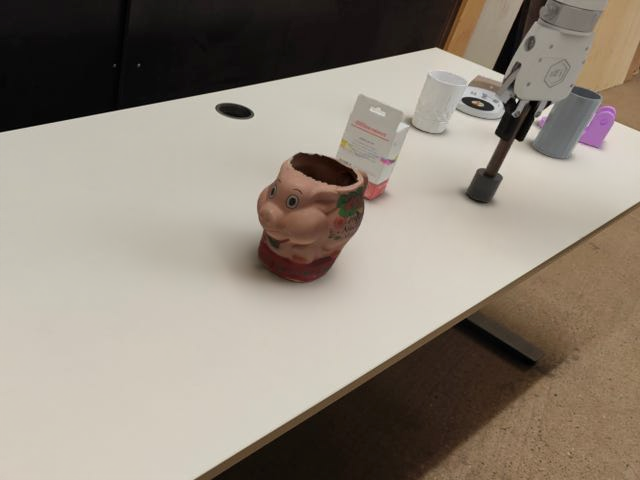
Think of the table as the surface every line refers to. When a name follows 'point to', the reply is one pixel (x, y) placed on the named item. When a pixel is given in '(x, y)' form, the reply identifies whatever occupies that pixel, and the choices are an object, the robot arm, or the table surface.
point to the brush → (493, 167)
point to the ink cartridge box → (373, 142)
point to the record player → (482, 98)
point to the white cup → (438, 100)
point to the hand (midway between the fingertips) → (508, 137)
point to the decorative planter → (309, 215)
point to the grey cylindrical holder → (567, 122)
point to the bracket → (596, 126)
